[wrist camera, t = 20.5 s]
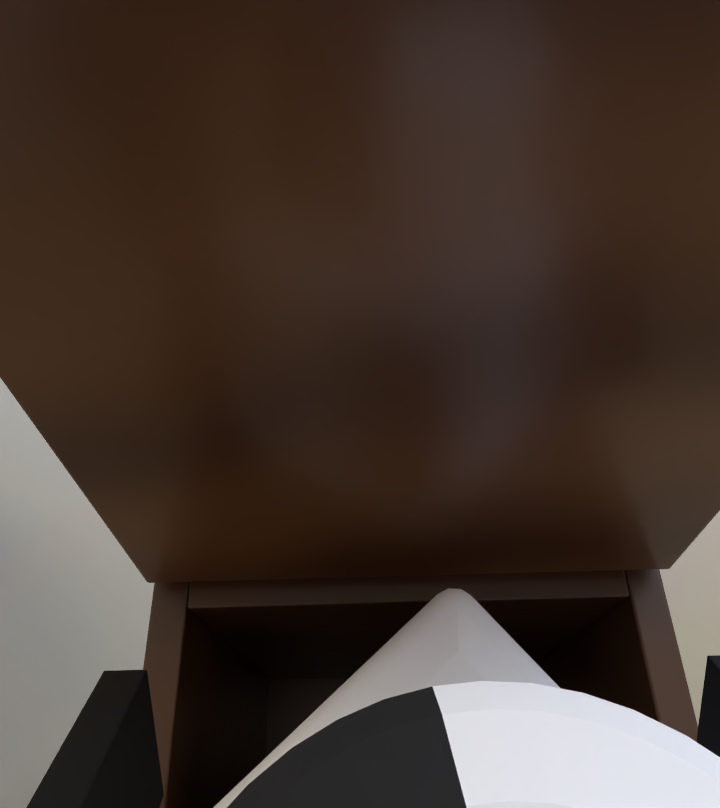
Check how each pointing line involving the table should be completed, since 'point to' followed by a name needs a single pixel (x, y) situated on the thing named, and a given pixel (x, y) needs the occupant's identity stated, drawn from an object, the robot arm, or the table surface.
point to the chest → (361, 638)
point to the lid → (368, 278)
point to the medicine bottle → (474, 734)
